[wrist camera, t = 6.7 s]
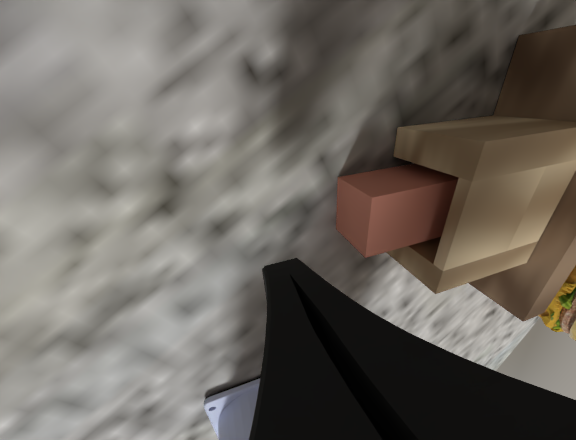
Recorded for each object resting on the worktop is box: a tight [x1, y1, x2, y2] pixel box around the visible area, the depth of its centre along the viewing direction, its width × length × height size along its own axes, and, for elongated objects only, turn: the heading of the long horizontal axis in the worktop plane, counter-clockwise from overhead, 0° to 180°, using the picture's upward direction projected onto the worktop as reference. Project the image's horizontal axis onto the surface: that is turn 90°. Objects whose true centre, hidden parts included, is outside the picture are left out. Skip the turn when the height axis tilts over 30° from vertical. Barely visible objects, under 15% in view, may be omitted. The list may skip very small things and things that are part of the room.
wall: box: [469, 25, 576, 321], centre depth 15 cm, size 16×2×6 cm, turn 4°
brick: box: [336, 163, 459, 258], centre depth 14 cm, size 3×8×3 cm, turn 94°
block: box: [387, 116, 576, 294], centre depth 14 cm, size 8×7×5 cm
